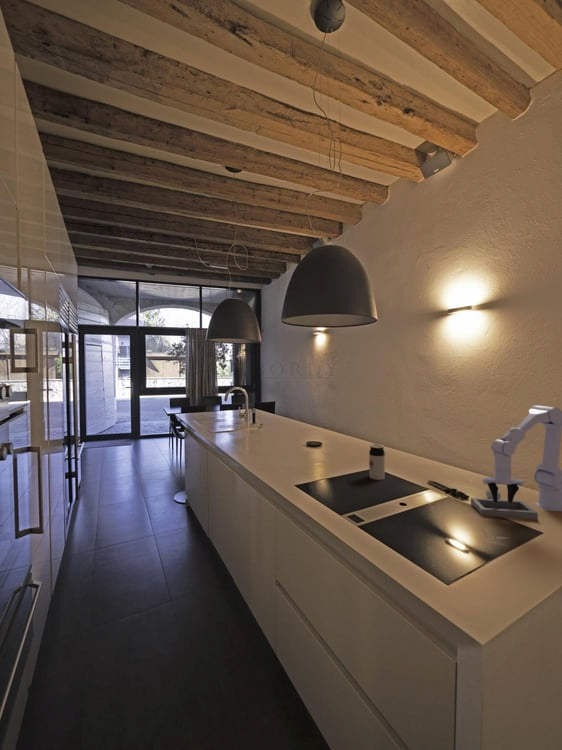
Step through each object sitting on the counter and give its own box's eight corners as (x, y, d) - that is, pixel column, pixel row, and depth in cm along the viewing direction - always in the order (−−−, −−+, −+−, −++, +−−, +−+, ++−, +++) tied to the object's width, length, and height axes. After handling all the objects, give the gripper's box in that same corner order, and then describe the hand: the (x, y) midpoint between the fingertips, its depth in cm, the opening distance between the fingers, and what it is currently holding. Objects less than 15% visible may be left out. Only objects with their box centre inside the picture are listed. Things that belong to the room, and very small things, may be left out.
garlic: (483, 498, 154) (483, 487, 154) (488, 496, 157) (489, 485, 157) (497, 503, 149) (497, 491, 149) (503, 500, 152) (503, 488, 152)
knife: (425, 481, 176) (425, 479, 176) (436, 481, 177) (436, 479, 177) (458, 499, 151) (458, 496, 151) (471, 499, 152) (471, 496, 152)
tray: (521, 507, 144) (521, 500, 143) (537, 520, 132) (537, 512, 132) (470, 504, 147) (470, 497, 147) (481, 516, 135) (482, 509, 135)
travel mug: (381, 475, 187) (381, 443, 186) (386, 480, 179) (386, 447, 178) (367, 476, 186) (367, 444, 186) (372, 481, 178) (372, 447, 178)
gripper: (517, 467, 142) (517, 498, 142) (479, 465, 144) (479, 496, 145) (526, 472, 135) (525, 505, 135) (486, 470, 137) (486, 503, 138)
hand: (502, 501), depth 139 cm, fingers open, 5 cm apart
